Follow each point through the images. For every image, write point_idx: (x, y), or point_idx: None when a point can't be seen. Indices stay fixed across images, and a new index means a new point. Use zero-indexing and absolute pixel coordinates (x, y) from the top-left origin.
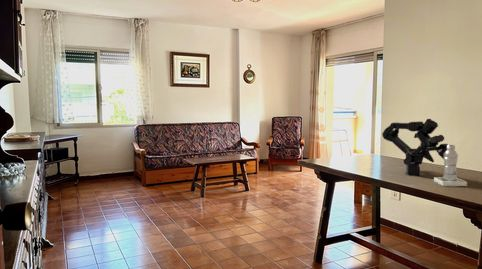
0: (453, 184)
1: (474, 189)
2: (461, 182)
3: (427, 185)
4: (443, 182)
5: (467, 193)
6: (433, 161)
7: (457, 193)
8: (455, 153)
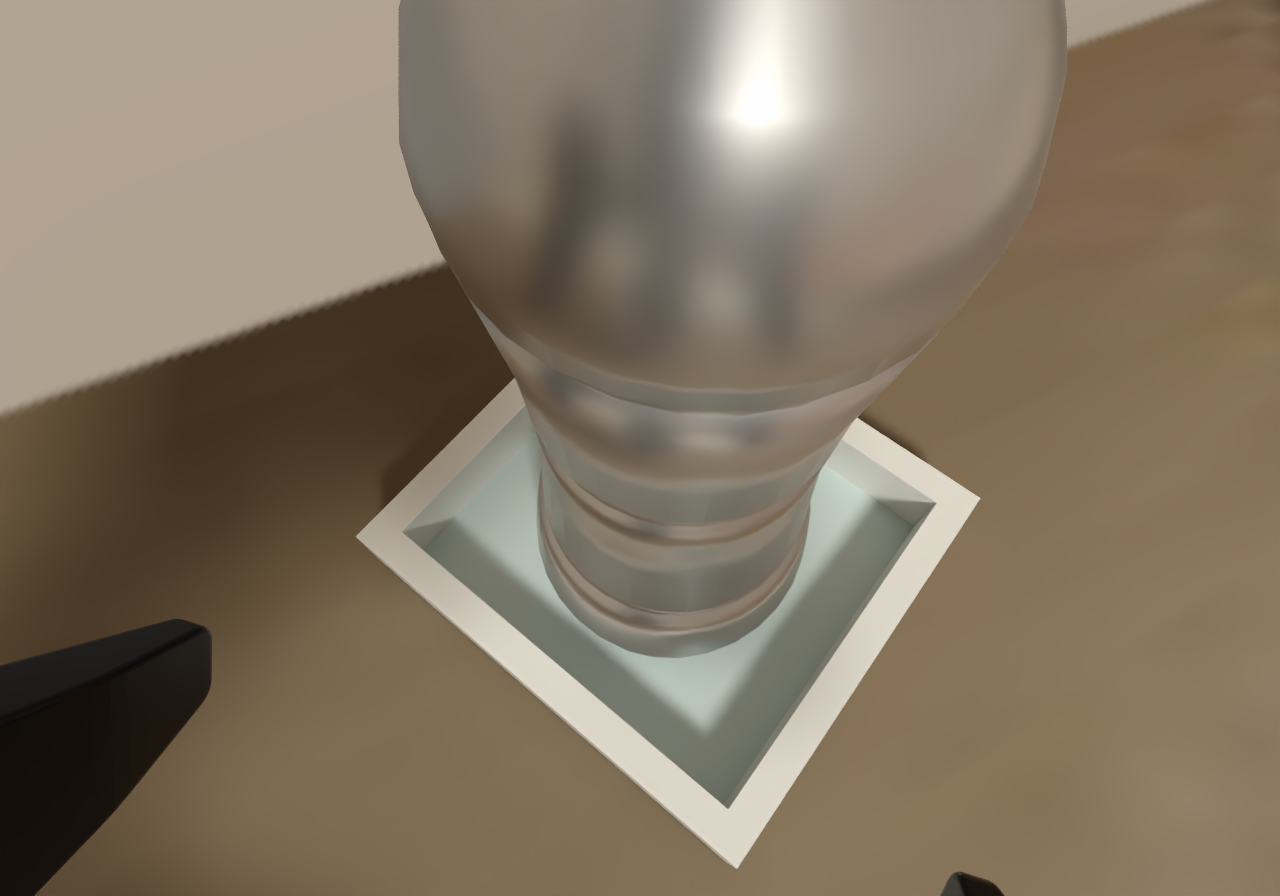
0: None
1: None
2: None
3: (1138, 746)
4: (964, 496)
5: None
6: (991, 888)
7: (1129, 218)
8: None
